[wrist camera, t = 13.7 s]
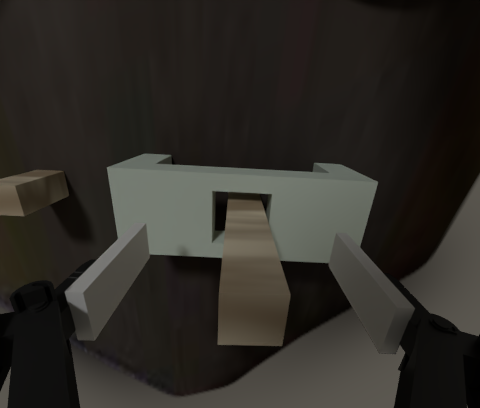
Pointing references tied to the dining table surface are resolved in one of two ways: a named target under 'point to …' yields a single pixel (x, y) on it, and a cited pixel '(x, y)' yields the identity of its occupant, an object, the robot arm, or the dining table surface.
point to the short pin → (31, 191)
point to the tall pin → (251, 278)
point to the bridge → (247, 181)
